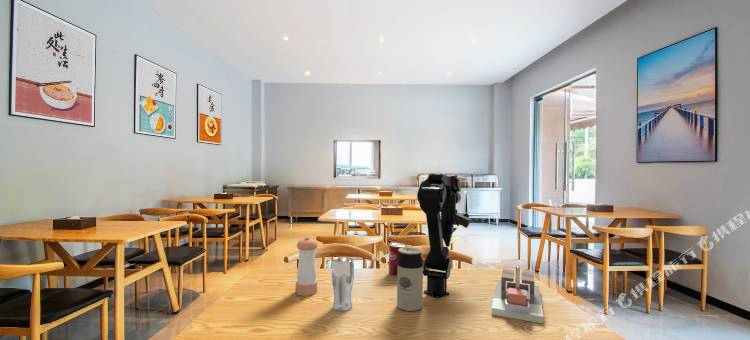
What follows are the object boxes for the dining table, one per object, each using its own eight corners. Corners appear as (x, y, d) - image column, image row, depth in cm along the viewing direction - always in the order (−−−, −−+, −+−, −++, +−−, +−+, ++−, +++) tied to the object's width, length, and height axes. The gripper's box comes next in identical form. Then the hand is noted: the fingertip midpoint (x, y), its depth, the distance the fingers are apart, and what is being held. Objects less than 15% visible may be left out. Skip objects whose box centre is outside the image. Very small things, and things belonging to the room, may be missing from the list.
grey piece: (529, 314, 98) (530, 275, 98) (504, 310, 100) (505, 271, 100) (528, 304, 105) (529, 267, 105) (505, 300, 108) (506, 264, 107)
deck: (543, 323, 97) (543, 316, 97) (491, 314, 102) (491, 307, 102) (538, 291, 122) (538, 286, 122) (497, 285, 127) (497, 280, 127)
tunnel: (533, 304, 105) (534, 281, 105) (501, 298, 109) (501, 277, 109) (532, 293, 115) (533, 272, 115) (502, 288, 118) (502, 268, 118)
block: (526, 312, 99) (526, 295, 99) (507, 309, 101) (508, 293, 101) (525, 306, 104) (526, 290, 104) (508, 303, 106) (508, 287, 106)
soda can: (406, 271, 143) (406, 243, 142) (406, 277, 135) (406, 247, 135) (389, 270, 143) (389, 242, 143) (388, 276, 136) (388, 246, 136)
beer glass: (357, 304, 108) (357, 257, 108) (348, 313, 102) (348, 263, 101) (337, 301, 110) (337, 255, 110) (327, 310, 104) (327, 261, 104)
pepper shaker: (291, 294, 116) (292, 238, 116) (303, 287, 123) (304, 234, 123) (309, 297, 114) (310, 240, 113) (321, 290, 120) (321, 236, 120)
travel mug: (407, 299, 113) (408, 245, 113) (427, 306, 107) (428, 249, 107) (391, 306, 107) (392, 249, 107) (411, 314, 102) (412, 254, 102)
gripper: (465, 210, 121) (465, 254, 121) (472, 205, 138) (472, 243, 138) (435, 208, 125) (434, 251, 126) (445, 203, 142) (444, 241, 143)
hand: (447, 246), depth 133 cm, fingers closed
